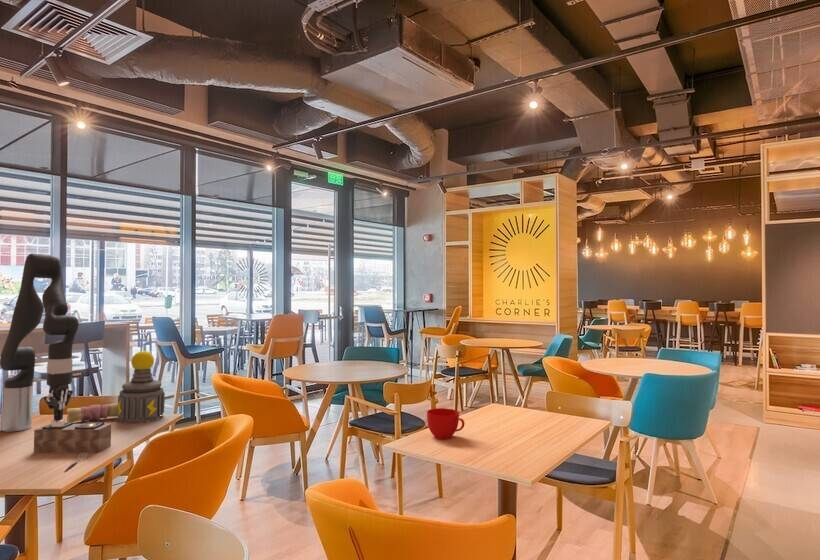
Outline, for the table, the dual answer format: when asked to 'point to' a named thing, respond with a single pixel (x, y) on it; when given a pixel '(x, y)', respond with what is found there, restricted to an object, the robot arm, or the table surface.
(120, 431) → the table surface
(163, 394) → the decorative lamp
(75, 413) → the scroll
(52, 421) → the peg
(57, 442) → the walnut bar
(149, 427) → the table surface
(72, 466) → the fork
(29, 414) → the robot arm
